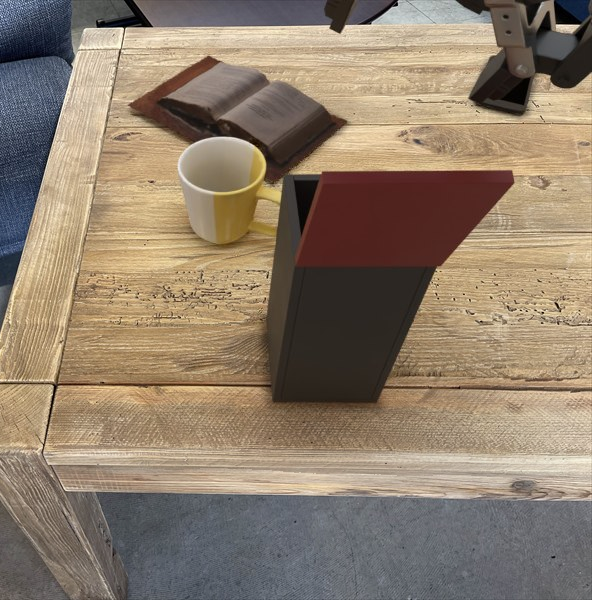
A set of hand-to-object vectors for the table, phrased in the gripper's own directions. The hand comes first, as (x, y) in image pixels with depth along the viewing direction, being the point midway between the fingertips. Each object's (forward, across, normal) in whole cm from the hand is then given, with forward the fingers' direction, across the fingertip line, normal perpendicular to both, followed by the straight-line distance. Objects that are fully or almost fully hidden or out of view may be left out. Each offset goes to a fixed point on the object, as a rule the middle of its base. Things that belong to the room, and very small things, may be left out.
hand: (410, 53), depth 33 cm
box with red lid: (+33, -9, +13) cm, 37 cm away
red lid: (+7, -4, +6) cm, 10 cm away
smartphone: (+59, -19, -42) cm, 75 cm away
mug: (+43, +6, +4) cm, 44 cm away
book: (+57, +15, -16) cm, 61 cm away
